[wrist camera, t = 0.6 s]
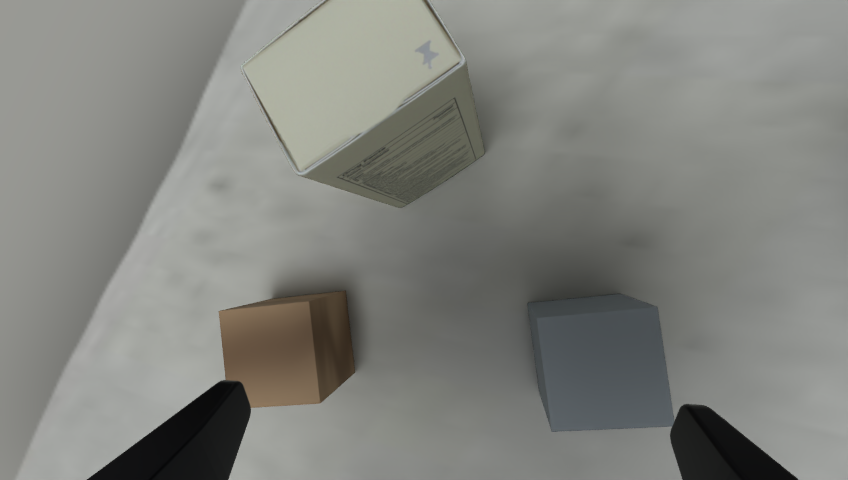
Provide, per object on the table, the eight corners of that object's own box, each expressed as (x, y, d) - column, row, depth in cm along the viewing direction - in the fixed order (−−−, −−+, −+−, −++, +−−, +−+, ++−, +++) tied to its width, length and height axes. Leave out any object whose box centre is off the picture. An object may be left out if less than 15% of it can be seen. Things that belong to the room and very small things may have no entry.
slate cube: (633, 385, 22) (675, 426, 17) (539, 391, 22) (551, 431, 18) (620, 293, 22) (657, 307, 17) (527, 302, 23) (536, 318, 18)
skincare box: (449, 94, 24) (401, -67, 12) (487, 155, 23) (479, 54, 11) (359, 153, 24) (229, 61, 12) (395, 213, 24) (294, 178, 12)
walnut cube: (355, 372, 24) (320, 403, 19) (280, 377, 25) (228, 409, 20) (346, 290, 25) (308, 301, 20) (272, 298, 25) (218, 311, 20)
